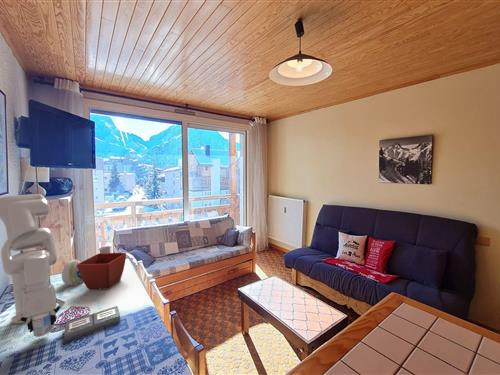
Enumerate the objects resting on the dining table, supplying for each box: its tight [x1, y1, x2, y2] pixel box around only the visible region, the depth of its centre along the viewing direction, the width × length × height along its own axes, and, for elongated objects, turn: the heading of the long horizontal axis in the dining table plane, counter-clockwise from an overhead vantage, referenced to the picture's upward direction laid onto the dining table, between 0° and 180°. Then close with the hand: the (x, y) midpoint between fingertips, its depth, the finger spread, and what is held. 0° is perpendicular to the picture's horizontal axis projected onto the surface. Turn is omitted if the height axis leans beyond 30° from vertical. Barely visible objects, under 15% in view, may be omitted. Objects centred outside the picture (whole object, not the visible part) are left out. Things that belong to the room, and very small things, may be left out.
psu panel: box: [63, 305, 122, 343], centre depth 104 cm, size 20×10×3 cm, turn 126°
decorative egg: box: [61, 259, 83, 286], centre depth 147 cm, size 12×12×15 cm
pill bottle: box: [32, 311, 54, 338], centre depth 97 cm, size 6×6×11 cm
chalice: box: [98, 245, 111, 254], centre depth 159 cm, size 7×7×18 cm
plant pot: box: [77, 252, 127, 291], centre depth 143 cm, size 19×19×17 cm
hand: (42, 326), depth 97 cm, fingers closed on pill bottle, 6 cm apart
